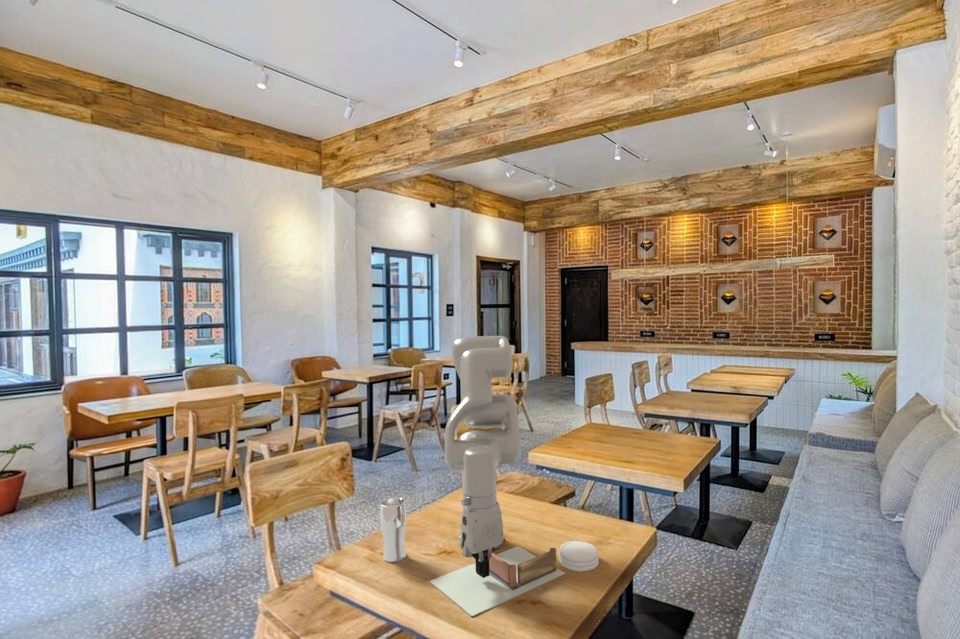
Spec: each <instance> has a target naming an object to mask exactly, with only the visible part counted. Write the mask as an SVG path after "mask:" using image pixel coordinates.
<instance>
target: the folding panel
mask: <svg viewBox="0 0 960 639" xmlns="http://www.w3.org/2000/svg"><path fill="white" fill-rule="evenodd" d="M496 555H497V554H495V553H493V552H492V556H491V558H490V559H489V568H490V570H491V571H492V572H494V573H495V574H496V575H498V576H499V577H500V578H502V579H503V580H504V581H506V582H507V583H508V584H509V583H510V586H511V587H516V586H517V578H516V565H514V564H512V565H509V564H508V563H507V562H505V561H504V560H502V559H501V558H499V557H498V556H496Z"/></svg>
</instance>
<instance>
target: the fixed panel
mask: <svg viewBox="0 0 960 639" xmlns="http://www.w3.org/2000/svg"><path fill="white" fill-rule="evenodd" d="M557 565H558V564H557V548H556V547H550V548H549V551H547V552H545V553H542V554H539V555H537V556H536V557H534V558H532V559H530V560H527V561H525V562H523V563H520V564H518V565H517V572H518V583H519V584H522V583H525V582H527V581H529V580H531V579H533V578H536V577H538V576H540V575H542V574H544V573H547V572H549V571H551V570H553V571H555V570H557V569H558V568H557Z"/></svg>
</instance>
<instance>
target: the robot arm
mask: <svg viewBox="0 0 960 639" xmlns="http://www.w3.org/2000/svg"><path fill="white" fill-rule="evenodd" d="M451 355H452V359H453V360H452V361H453V365H454V368H455V371H456V372H457V375H458V378H459V380H460V403H459V405H457V406H456V408H455V409H454V410H453V411H452V412H451V414H450V416H449V418H448V419H447V422H446V426H445V430H444V460H445V461H444V462H445V464H446V466H447V467H448V469H450V470H452V471H461V482H462V484H461V485H462V499H461V500H460V503H461V505H462V512H461V520H460V522H459V526H460V535H459V537H458V544H459V546H460V547H461V548H462V554H461V555H462V556H463V557H465V558H473V559H475V563H476V573H477V574H478V575H479V576H481V577H483V578H485V577H486V576H487V577H488V576H489V569H490V568H489V559H490V558H491V556H492V553H493V552H494V550H496V549H498V548H500V547H501V546H502V545H503V543H504V534H505V533H504V523H503V516H502V511H501V507H500V503H499V502H498V501H497V500H498V499H497V498H498V497H497V493H498V492H497V481H496V468H497V466H498V465H512V464H515V463H517V462H519V460H520V458H521V453H522V449H521V437H520V436H521V435H520V427H519V424H520V423H519V416H518V408H517V404H516V401H515V398H514V397H513V396H512V395H511V394H510V395H509V394H506V393H505V394H502V393H501V394H493V391H492V390H493V388H492V386H493V385H492V379H493V378H508V377H510V376H511V374H512V371H513V357H512V356H513V354H512V351H511V345H510V342H509V339H508V338H507V337H506V336H504V335H486V336H485V335H481V336H478V335H476V336H465V337H460V338H457V339H455V341H453V342H452V345H451ZM462 423H464V424H465V426H467V427H468V428H471V429H473V428H474V429H477V430H474V429H473V430H469V431H466V432H463V433H462V434H461V435H460V436H459V437H458V439H456V432H457V429H458V427H459V425H460V424H462ZM491 428H494V429H491ZM495 428H500V429H495Z"/></svg>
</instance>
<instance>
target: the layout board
mask: <svg viewBox="0 0 960 639" xmlns="http://www.w3.org/2000/svg"><path fill="white" fill-rule="evenodd" d="M495 555H496V556H498V557H499V558H501V559H502V560H504V561H505V562H507V563H508V564H509V565H512V564H514V565H516V578H517V586H516V587H511V586H510V583H509V584H508V583H507V582H506V581H504V580H503V579H502V578H500V577H499V576H498V575H496V574H495V573H494V572H492V571H491V570H490V569H489V576H488V577H487V576H486V577H485V578H483V577H481V576H479V575H478V574H477V573H476V562H475V563H472V564H469V565H467V566H464V567H461V568H459V569H457V570H453V571H451V572H449V573H446V574H444V575H441V576H439V577H436V578H433V579H432V580H429V583H430V584H431V585H433V586H434V587H435V588H436V589H438V591H440V592H441V593H442V594H443V595H444V596H446V597H447V598H448V599H449V598H450V599H449V600H451V601H452V603H454V604H455V605H457V607H459V608H460V609H461V610H463V612H465V613H466V614H467V613H468V614H467V615H469V617H471V616H474V617H475V615H476V616H478V615H480V614H482V613H484V611H485V612H487V611H489V610H491V609H493V608H495V607H497V606H500V605H501V604H503V603H506V602H509V601H510V600H512V599H514V598H516V597H519V596H521V595H523V594H525V593H527V592H529V591H532V590H533V589H536V588H538V587H540V586H542V585H544V584H547V583H548V582H551V581H552V580H555V579H557V578H559V577H561V576H564V575H566V573H565V571H563V570H561V569H559V568H557V570H555V571H553V570H551V571H549V572H547V573H544V574H542V575H540V576H538V577H536V578H533V579H531V580H529V581H527V582H525V583H522V584H519V583H518V572H517V565H518V564H520V563H523V562H525V561H527V560H530V559H532V558H534V557H537V556H536V555H535V554H533V553H531V552H529V551H527V550H525V549H524V548H522V547H520V546H518V545H517V546H515V547H512V548H510V549H507V550H505V551H502V552H499V553H497V554H495ZM486 610H487V611H486ZM481 612H482V613H481ZM479 613H480V614H479ZM477 614H478V615H477Z"/></svg>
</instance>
